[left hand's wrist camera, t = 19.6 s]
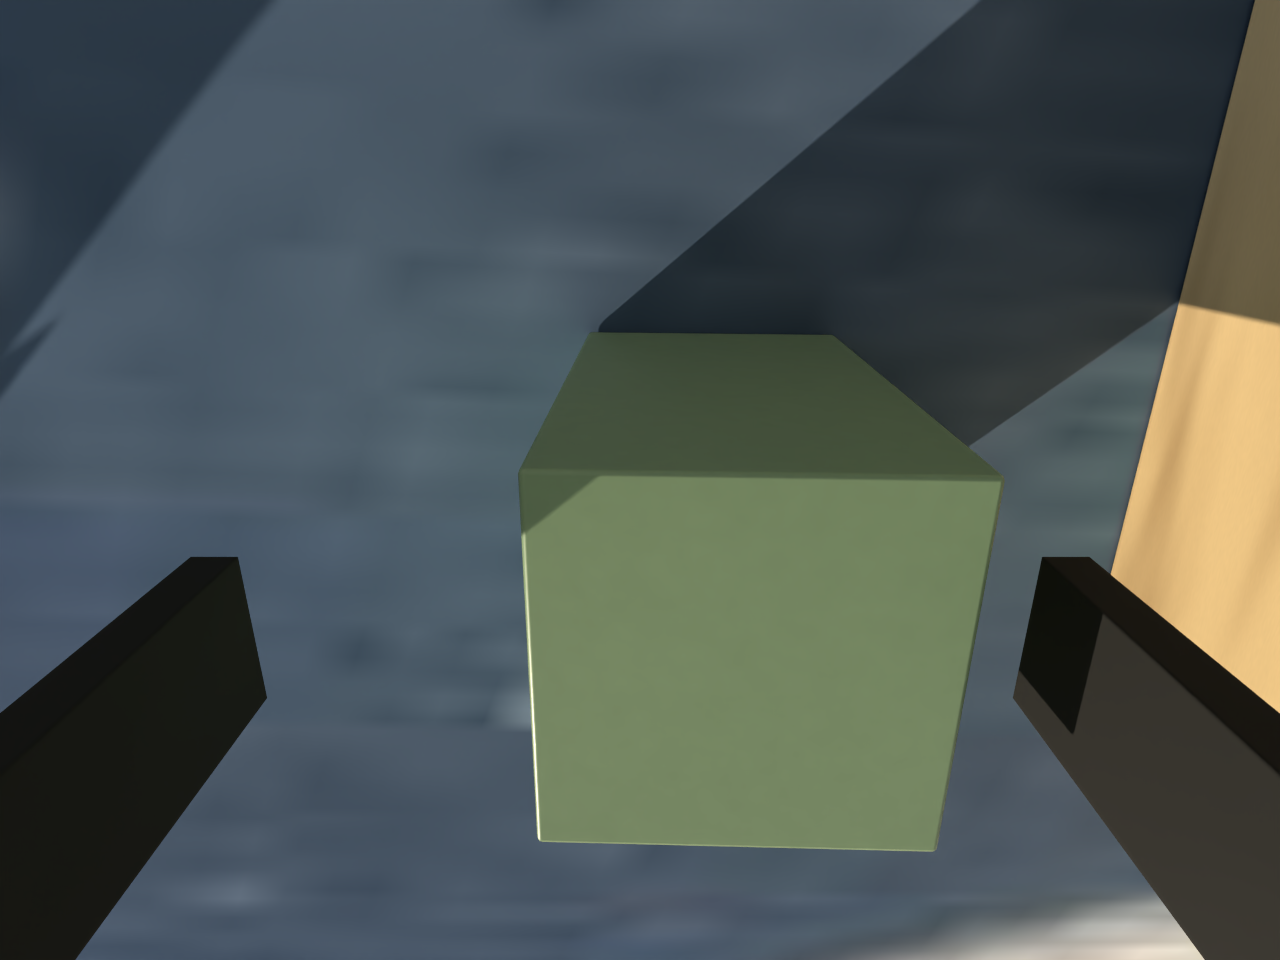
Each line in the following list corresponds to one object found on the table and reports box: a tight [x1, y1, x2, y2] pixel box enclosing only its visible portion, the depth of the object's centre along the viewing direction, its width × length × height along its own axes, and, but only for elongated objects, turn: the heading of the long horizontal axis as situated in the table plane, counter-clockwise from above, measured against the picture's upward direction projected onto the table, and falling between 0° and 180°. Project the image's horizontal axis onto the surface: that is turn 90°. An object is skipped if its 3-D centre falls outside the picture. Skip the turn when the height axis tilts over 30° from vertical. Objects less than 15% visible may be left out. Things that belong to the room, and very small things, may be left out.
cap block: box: [518, 332, 1004, 851], centre depth 15 cm, size 6×6×10 cm
